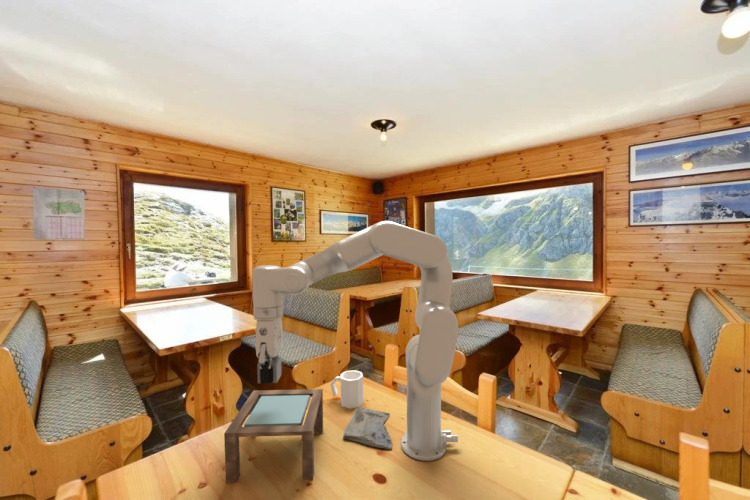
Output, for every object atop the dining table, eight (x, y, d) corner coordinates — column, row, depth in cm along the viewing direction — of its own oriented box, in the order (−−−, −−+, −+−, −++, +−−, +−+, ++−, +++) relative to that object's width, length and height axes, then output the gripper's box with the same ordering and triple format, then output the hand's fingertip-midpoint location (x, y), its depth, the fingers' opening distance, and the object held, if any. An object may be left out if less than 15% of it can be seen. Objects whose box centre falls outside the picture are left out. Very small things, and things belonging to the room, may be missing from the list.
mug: (365, 397, 120) (365, 371, 119) (360, 409, 111) (360, 381, 111) (334, 394, 122) (334, 368, 122) (326, 406, 114) (326, 379, 113)
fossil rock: (354, 412, 111) (354, 405, 111) (398, 416, 108) (398, 410, 108) (339, 445, 94) (339, 437, 94) (391, 452, 91) (391, 443, 91)
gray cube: (281, 374, 91) (281, 356, 91) (276, 382, 86) (276, 364, 86) (263, 374, 91) (263, 357, 91) (257, 383, 86) (257, 364, 86)
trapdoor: (310, 398, 97) (310, 395, 97) (301, 426, 83) (301, 423, 83) (261, 399, 96) (261, 396, 96) (244, 428, 82) (244, 424, 82)
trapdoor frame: (323, 428, 101) (322, 389, 100) (312, 480, 80) (311, 431, 79) (254, 430, 100) (253, 390, 100) (225, 482, 79) (224, 433, 79)
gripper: (274, 320, 79) (275, 393, 80) (289, 304, 96) (290, 364, 97) (242, 320, 79) (244, 393, 80) (263, 304, 96) (265, 365, 97)
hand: (269, 377), depth 89 cm, fingers closed on gray cube, 5 cm apart
